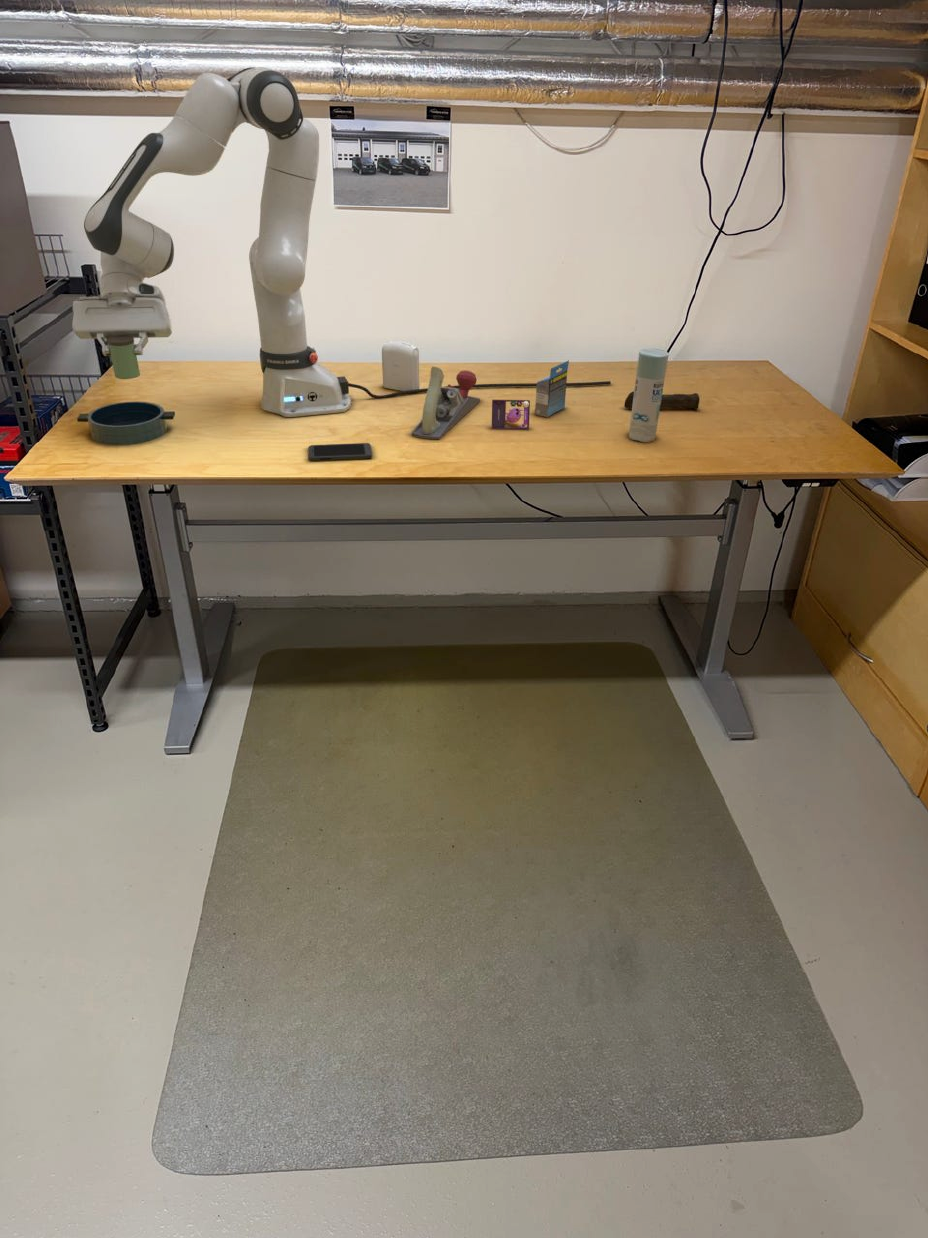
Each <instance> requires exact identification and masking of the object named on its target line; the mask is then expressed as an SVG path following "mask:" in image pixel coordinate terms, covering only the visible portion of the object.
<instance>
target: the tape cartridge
mask: <svg viewBox="0 0 928 1238" xmlns="http://www.w3.org/2000/svg"><path fill="white" fill-rule="evenodd" d="M569 363H570V360H567V361H564V362H563V363H560V364H558V365H556V366H553V367H552V368H550V373H549V376H547V377H546V378H543V379H541V380H539V381H537V382H536V383H537V386H536V391H535V392H536V393H535V405H534V406H535V407H534V415H536V416H538V417H542V418H547V419H548V418H549V417H551V416H553V415H554V414H556V413H558V412H559V411H561V410H563V409H565V407H566V397H567V396H566V394H567V386H566V383H568V382H567V381H568V369H569ZM558 370H559V371H558Z"/></svg>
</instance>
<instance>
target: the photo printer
mask: <svg viewBox="0 0 928 1238" xmlns="http://www.w3.org/2000/svg"><path fill="white" fill-rule="evenodd" d="M381 370H382V387H383V388H385V389H390V390H395V391H399V392H402V391H410V390H417V389H420V385H421V383H420V352H419V349H418V347H417V346H415V345H413V344H411V343H408V342H405V341H400V340H393V341H388V342H385V343H383V344H382V347H381Z"/></svg>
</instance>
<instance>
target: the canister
mask: <svg viewBox="0 0 928 1238" xmlns="http://www.w3.org/2000/svg"><path fill="white" fill-rule="evenodd" d="M106 343H107V345H109V349H110V354H111V356H110V359H111V364H112V369H113V374H114V377H115V378H116V379H119V380H131V379H135V378H138V377H140V376H141V372H140V367H139V361H138V357H137V356H138V355H135V353H134V344H135V338H133V337H132V336H128V335H119V336H113V337H110V338H106Z"/></svg>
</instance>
